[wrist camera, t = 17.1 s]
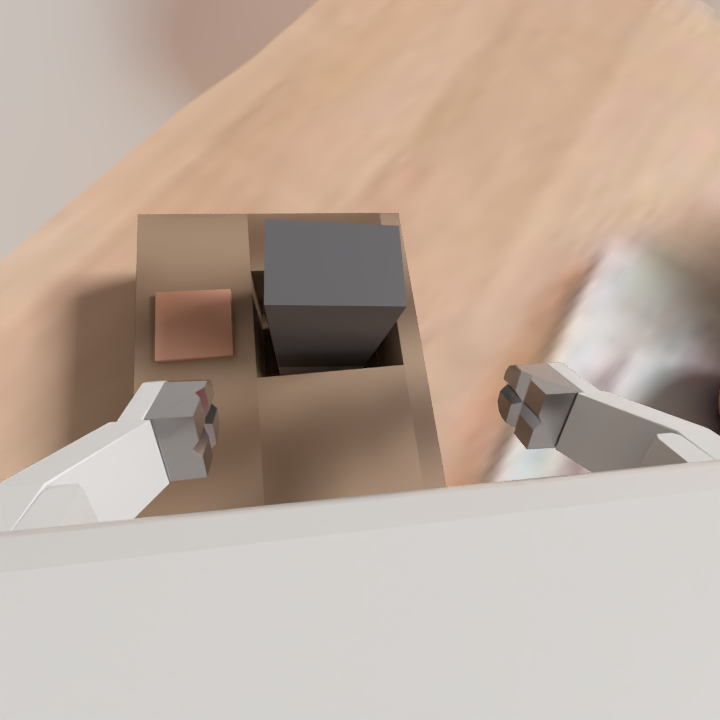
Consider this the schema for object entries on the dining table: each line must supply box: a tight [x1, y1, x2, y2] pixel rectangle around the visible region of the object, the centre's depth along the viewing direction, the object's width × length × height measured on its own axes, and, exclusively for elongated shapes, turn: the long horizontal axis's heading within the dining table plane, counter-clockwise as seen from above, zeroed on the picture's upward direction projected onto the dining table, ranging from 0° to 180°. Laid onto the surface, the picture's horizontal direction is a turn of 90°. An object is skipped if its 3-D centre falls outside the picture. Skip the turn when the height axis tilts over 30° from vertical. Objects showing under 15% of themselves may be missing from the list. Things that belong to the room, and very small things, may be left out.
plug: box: [264, 219, 407, 376], centre depth 16 cm, size 3×4×10 cm, turn 93°
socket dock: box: [133, 213, 446, 519], centre depth 17 cm, size 22×12×5 cm, turn 8°
